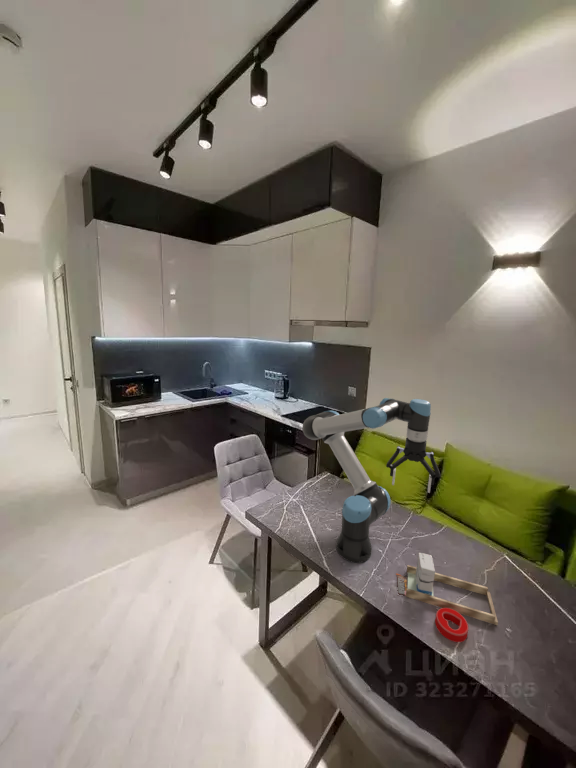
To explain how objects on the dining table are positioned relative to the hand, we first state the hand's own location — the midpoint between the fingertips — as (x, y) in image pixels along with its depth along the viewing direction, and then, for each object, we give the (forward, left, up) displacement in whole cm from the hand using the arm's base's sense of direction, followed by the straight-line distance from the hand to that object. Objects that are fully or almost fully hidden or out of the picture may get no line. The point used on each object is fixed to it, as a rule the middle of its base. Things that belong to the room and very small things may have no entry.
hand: (410, 487), depth 129 cm
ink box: (+8, -15, -32) cm, 36 cm away
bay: (+16, -15, -32) cm, 39 cm away
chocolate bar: (+1, -17, -33) cm, 37 cm away
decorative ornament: (+16, -28, -33) cm, 46 cm away
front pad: (+7, -15, -32) cm, 36 cm away
